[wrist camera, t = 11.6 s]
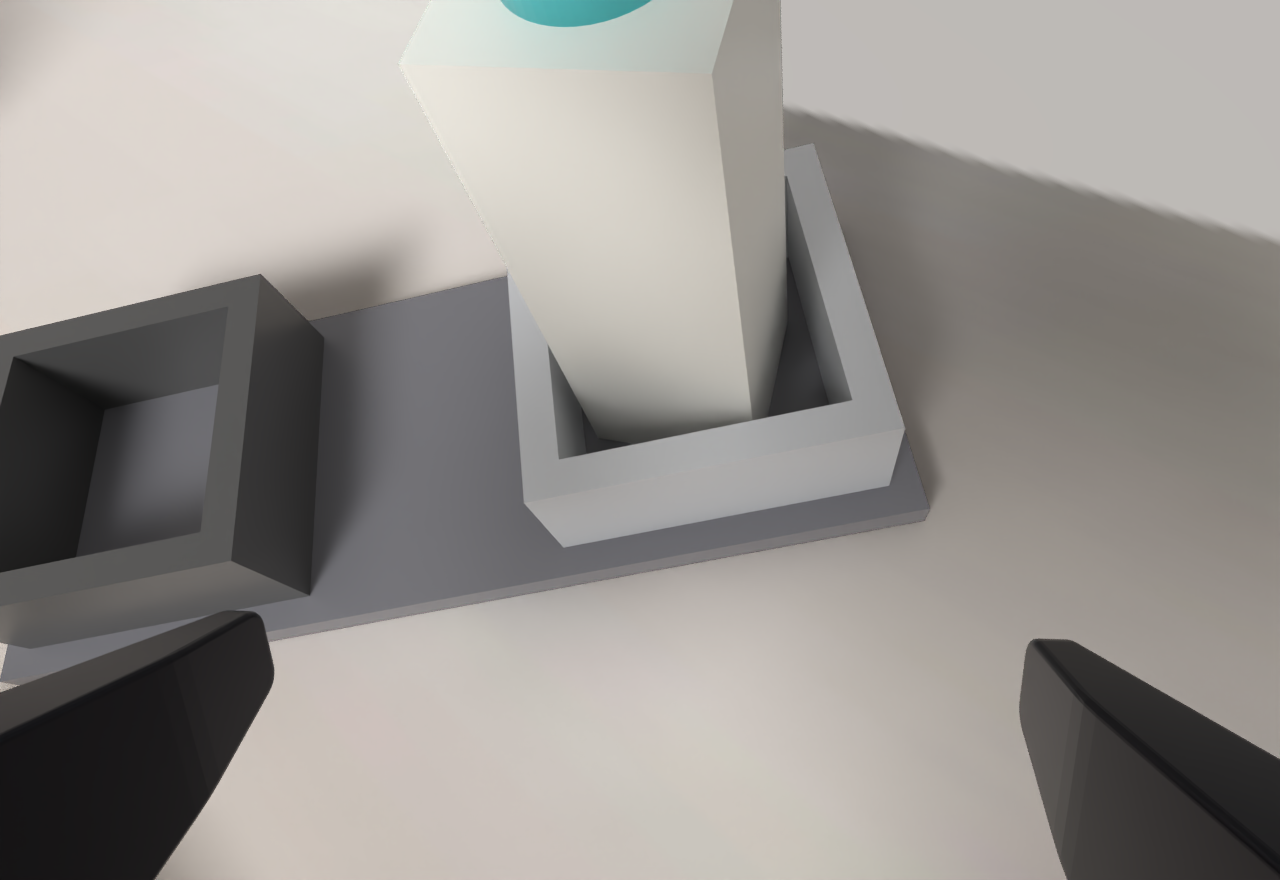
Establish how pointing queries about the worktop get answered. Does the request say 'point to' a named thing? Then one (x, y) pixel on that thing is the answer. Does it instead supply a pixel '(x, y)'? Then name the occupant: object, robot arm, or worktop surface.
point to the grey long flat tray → (402, 458)
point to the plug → (626, 190)
